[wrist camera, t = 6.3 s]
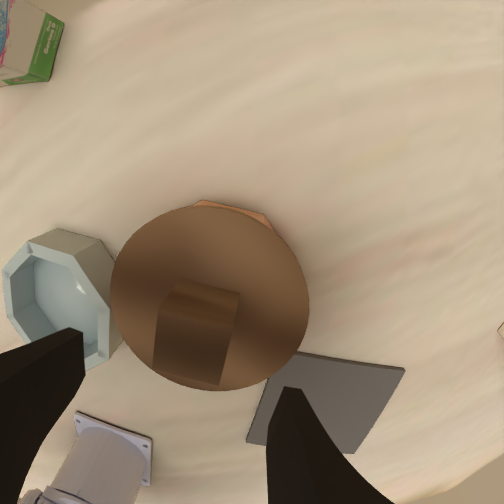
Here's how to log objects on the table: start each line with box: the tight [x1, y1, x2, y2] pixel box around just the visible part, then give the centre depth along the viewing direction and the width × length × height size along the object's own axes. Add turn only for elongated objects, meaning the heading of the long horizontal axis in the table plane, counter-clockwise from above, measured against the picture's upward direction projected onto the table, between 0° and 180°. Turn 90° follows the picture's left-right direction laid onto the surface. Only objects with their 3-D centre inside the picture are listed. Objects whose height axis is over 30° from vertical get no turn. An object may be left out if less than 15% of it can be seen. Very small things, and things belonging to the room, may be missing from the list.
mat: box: [246, 352, 405, 454], centre depth 23 cm, size 10×10×1 cm
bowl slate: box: [2, 229, 123, 371], centre depth 19 cm, size 9×9×4 cm
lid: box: [110, 205, 309, 391], centre depth 15 cm, size 10×10×4 cm
